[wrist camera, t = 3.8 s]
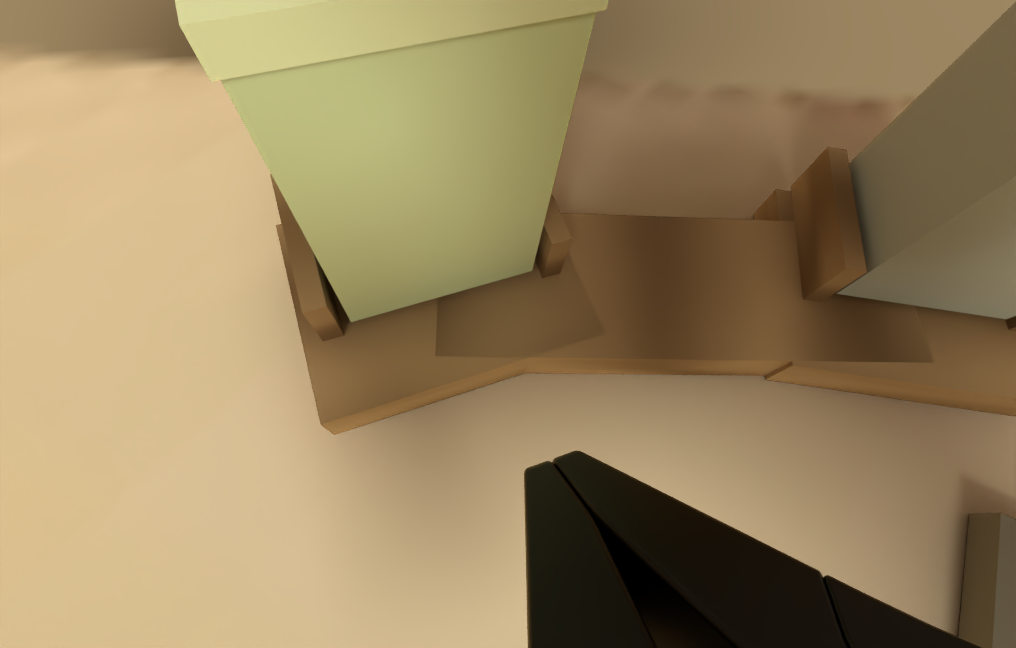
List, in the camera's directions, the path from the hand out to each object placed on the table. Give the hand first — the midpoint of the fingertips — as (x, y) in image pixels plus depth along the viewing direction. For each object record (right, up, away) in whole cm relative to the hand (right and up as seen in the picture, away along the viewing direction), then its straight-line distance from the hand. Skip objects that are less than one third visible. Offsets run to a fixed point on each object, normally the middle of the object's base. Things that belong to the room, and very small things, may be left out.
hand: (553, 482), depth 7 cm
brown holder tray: (+4, +3, +10) cm, 11 cm away
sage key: (-3, +5, +8) cm, 10 cm away
